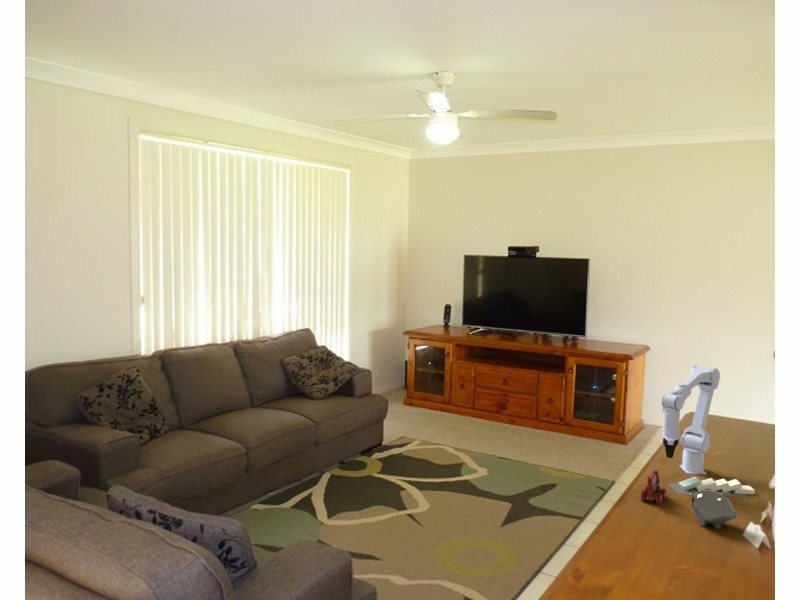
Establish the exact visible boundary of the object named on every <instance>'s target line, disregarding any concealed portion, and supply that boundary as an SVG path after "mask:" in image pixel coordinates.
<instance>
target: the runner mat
mask: <svg viewBox="0 0 800 600" xmlns="http://www.w3.org/2000/svg"><path fill="white" fill-rule="evenodd" d="M667 484H668V485H669V487H670V488H671V489H672V490H673V492H674V493H675V494H677V495H678V494H680V495H689V494H690V493H697V492H698V490H697V489H696V488H695V487H694V488H691V489H689V490H686V491H685V490H684V489H682V488H681V487H680V486H679V483H672V482H671V483H670V482H669V483H667ZM706 490H709V489H706ZM716 492H719V493H722V491H721V490H717V491H716ZM728 493H730V496H729V497H742V498H743V497H744V498H748V497H749V496H748V494H738V493H734V492H733V491H732V490H731V491H728Z"/></svg>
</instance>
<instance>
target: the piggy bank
mask: <svg viewBox="0 0 800 600" xmlns="http://www.w3.org/2000/svg"><path fill="white" fill-rule="evenodd" d="M688 495H689V498H690V500H691V509H692V511H693V514H694V515H695V517H696V518H697V519H698V520H699V521H698V523H699V526H701V527H705V526H707V524H712V526H713V528H714V529H715V530H721V527H722V525H724V524H727V523H729V522H731V521H732V520H735V519H737V517H738V510H736V509H735V508H734V505H733V504H732V502H731V501H730V499H729V497H731V496H730V493H728V492H722V493H719V492H716V491H712V490H701V491H698V492H697V493H690V494H688Z"/></svg>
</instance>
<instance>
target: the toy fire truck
mask: <svg viewBox="0 0 800 600" xmlns="http://www.w3.org/2000/svg"><path fill="white" fill-rule="evenodd" d="M660 483H661V482H660V475H659V471H658V470H656V469H655V470H652V472H651V473H650V475H648V477H647V485H645V488H643V489H642V490H641V492H640V499H641V501H643V502H646V501H647V500H648V501H654V500H655V503H656V504H657V505H661V504H662V502H663V500H665V499H666V497H667V489H665V488H663V487H662V488H661V485H660Z"/></svg>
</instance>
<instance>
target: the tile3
mask: <svg viewBox="0 0 800 600" xmlns="http://www.w3.org/2000/svg"><path fill="white" fill-rule="evenodd" d="M714 481H715V483H716V487H712V488H709V490H712V491H717V490H720V489H723V488H727V487H729V484H728V481H727V479H725V478H721V479H718V480H714Z"/></svg>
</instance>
